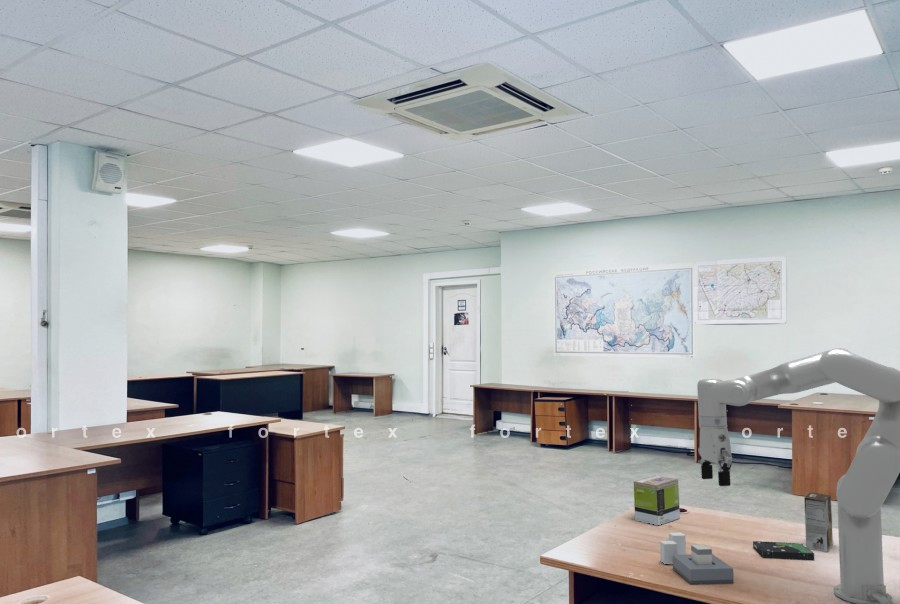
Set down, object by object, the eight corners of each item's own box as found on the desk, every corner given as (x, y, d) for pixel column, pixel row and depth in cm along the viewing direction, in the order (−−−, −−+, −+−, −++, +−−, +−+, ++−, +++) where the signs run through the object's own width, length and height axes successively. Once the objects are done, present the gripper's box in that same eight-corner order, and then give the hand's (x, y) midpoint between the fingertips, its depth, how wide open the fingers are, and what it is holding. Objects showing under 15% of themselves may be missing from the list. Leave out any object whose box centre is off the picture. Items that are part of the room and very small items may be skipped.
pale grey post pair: (697, 564, 193) (696, 543, 193) (664, 565, 192) (664, 544, 192) (681, 552, 204) (681, 532, 204) (650, 552, 203) (650, 533, 203)
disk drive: (763, 560, 198) (815, 562, 195) (762, 551, 198) (815, 552, 196) (752, 549, 208) (802, 551, 206) (752, 540, 208) (801, 542, 206)
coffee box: (811, 541, 214) (809, 491, 215) (833, 545, 210) (831, 494, 211) (805, 548, 207) (803, 497, 208) (828, 552, 203) (826, 500, 204)
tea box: (656, 513, 249) (655, 474, 250) (680, 519, 241) (679, 478, 242) (633, 520, 239) (633, 480, 240) (658, 526, 232) (657, 484, 233)
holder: (733, 583, 177) (733, 568, 178) (690, 584, 177) (690, 569, 177) (712, 567, 189) (712, 553, 190) (672, 569, 189) (672, 554, 189)
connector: (712, 574, 181) (711, 548, 182) (698, 575, 181) (697, 549, 181) (705, 569, 185) (704, 544, 186) (691, 569, 185) (691, 544, 185)
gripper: (741, 425, 180) (744, 488, 179) (710, 418, 197) (713, 475, 196) (715, 426, 179) (718, 489, 178) (686, 419, 197) (689, 477, 195)
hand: (715, 482), depth 187 cm, fingers open, 9 cm apart
